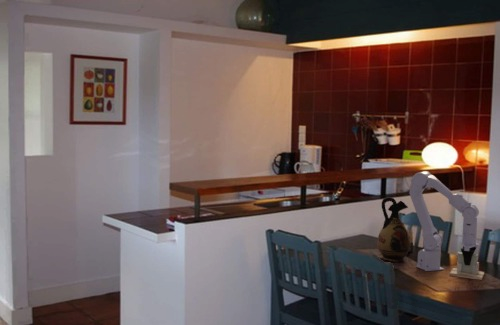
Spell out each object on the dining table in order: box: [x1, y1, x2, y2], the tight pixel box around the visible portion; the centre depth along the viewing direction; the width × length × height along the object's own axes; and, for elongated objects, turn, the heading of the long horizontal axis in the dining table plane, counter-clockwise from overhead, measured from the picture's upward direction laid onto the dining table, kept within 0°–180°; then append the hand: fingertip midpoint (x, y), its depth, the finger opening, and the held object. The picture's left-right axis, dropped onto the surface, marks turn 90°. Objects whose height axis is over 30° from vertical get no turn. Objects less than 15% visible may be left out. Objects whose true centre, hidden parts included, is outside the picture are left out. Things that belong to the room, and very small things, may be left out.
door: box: [456, 251, 479, 273], centre depth 255 cm, size 3×8×8 cm, turn 63°
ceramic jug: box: [376, 196, 411, 263], centre depth 277 cm, size 17×15×30 cm
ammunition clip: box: [407, 228, 414, 253], centre depth 292 cm, size 11×2×12 cm, turn 101°
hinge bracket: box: [449, 261, 485, 281], centre depth 253 cm, size 10×13×5 cm
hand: (468, 263), depth 255 cm, fingers open, 4 cm apart
